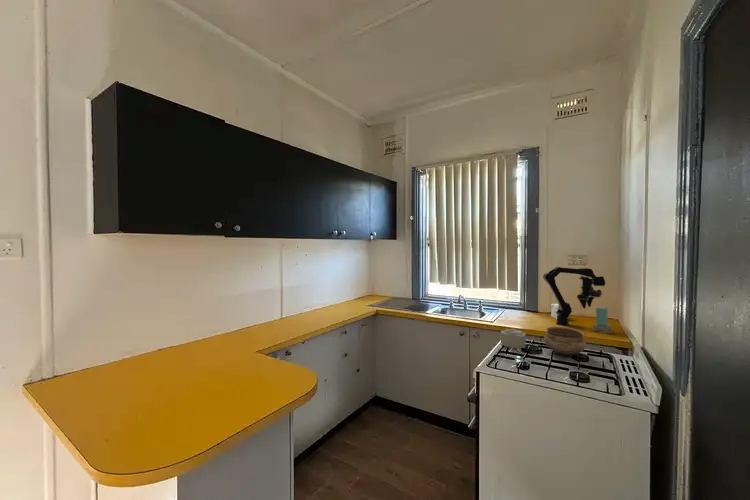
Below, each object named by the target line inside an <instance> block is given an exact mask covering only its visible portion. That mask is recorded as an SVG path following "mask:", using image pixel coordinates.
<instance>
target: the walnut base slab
mask: <svg viewBox="0 0 750 500" xmlns="http://www.w3.org/2000/svg"><path fill="white" fill-rule="evenodd" d="M590 332H592V333H597V334H602V335H610V334H612V333H614V329H613V328H611V329H610V330H609V331H603V330H597V329H593V327H591V328H590Z"/></svg>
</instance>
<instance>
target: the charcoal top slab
mask: <svg viewBox="0 0 750 500" xmlns="http://www.w3.org/2000/svg"><path fill="white" fill-rule="evenodd" d="M592 328H593V329H597V330H603V331H609V330H610V329H612V326H611V324H608V325H607V326H602V325H597V322H596V323H594V324H593V325H592Z"/></svg>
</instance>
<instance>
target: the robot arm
mask: <svg viewBox="0 0 750 500" xmlns="http://www.w3.org/2000/svg"><path fill="white" fill-rule="evenodd" d="M560 273H562V274H563V273H564V274H575V275H578V276H579V275H580V277H579V278H578V279H579V280H581V281H582V284H581V286H580V289H581V291H582V292H581V293H579V294H577V295H576V299H578V301H579V303H580V305H581V306H582V309H586V307H587V306H588V308H591V306H592V302H593V300H595V299H596V298H601V296H602V295H603V292H602V290H601V289H596V290H595V289H594V287H605V285H606V281H605V277H604V276H602V275H601V276H596V275H595V274H594V271H593V269H592V268H589V267H588V268H587V267H579V268H572V267H570V268H569V267H560V266H556V267H555V268H553V269H551V270H550V271H548V272H545V273H544V274H543V275H542V278H543V280H544V281H545V282H546V284H547V285H548V286H549V287H550V289H551V291H552V293H553V295H554V298H555V300H556V301H557V304H559V310H558V311H557V312H556V313H557V319H556V323H555V324H556V325H559V326H563V327H564V326H565V327H566V326H568V325H570V318H569V316H570V315H571V313H572V312H573V311H572V309H573V308H572V307H571V304H570V303H569V302H566V301H565V300H564V297H563V296H562V294H561V292H560V289H559V288H558V286H557V282H556V277H558V275H560ZM593 286H594V287H593Z"/></svg>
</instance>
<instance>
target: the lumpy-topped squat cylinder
mask: <svg viewBox="0 0 750 500" xmlns="http://www.w3.org/2000/svg"><path fill="white" fill-rule="evenodd" d="M501 343H502V344H503V345H504V347H507V348H512V349H519V350H522V349H521V348H524V349H525V348H526V332H523V331H522V330H517V328H511V329H509V328H506V329H505V330H501V331H500V344H501ZM502 344H501V345H502ZM503 345H502V346H503Z"/></svg>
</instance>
